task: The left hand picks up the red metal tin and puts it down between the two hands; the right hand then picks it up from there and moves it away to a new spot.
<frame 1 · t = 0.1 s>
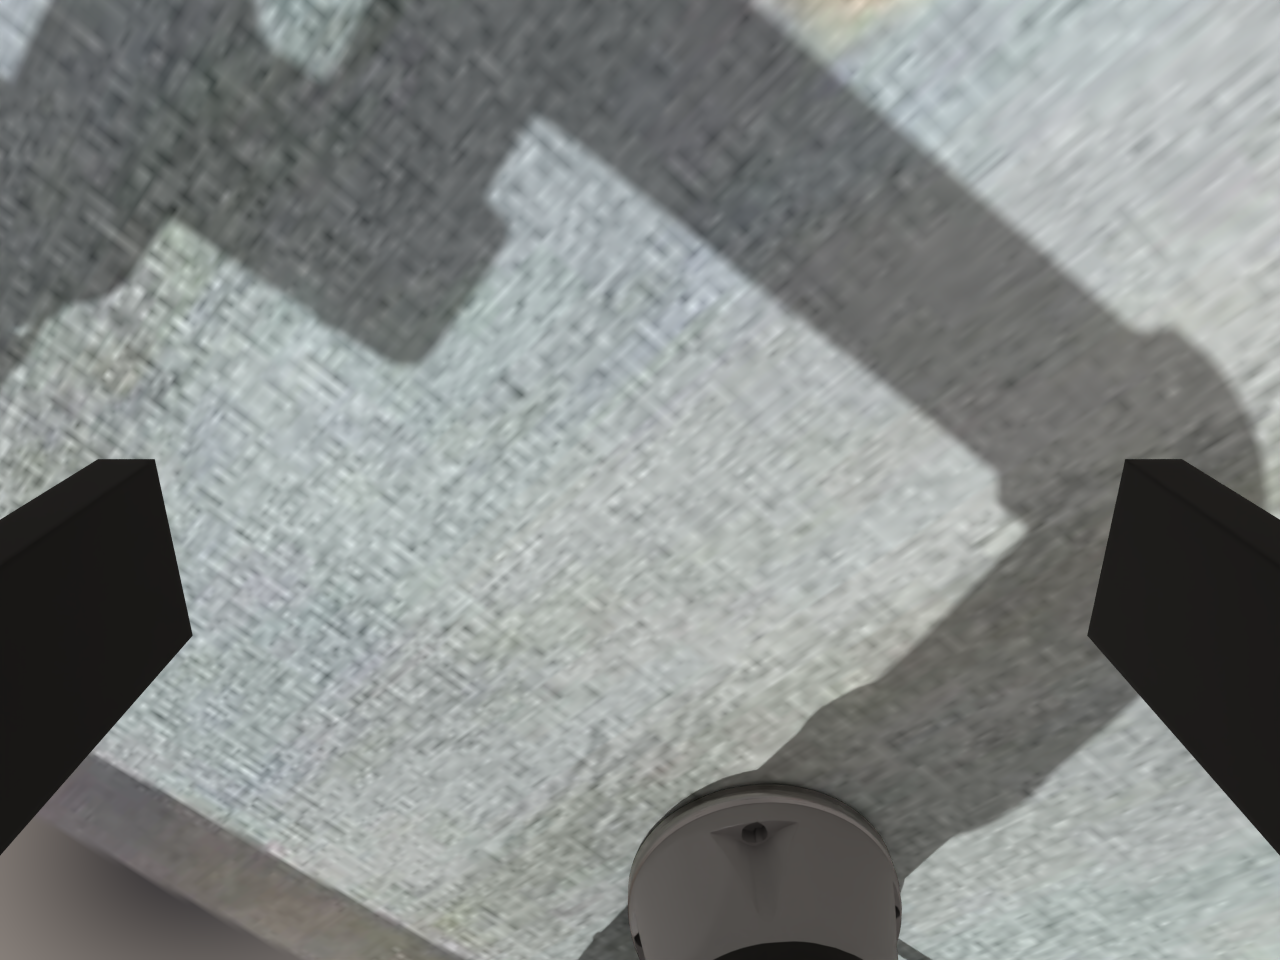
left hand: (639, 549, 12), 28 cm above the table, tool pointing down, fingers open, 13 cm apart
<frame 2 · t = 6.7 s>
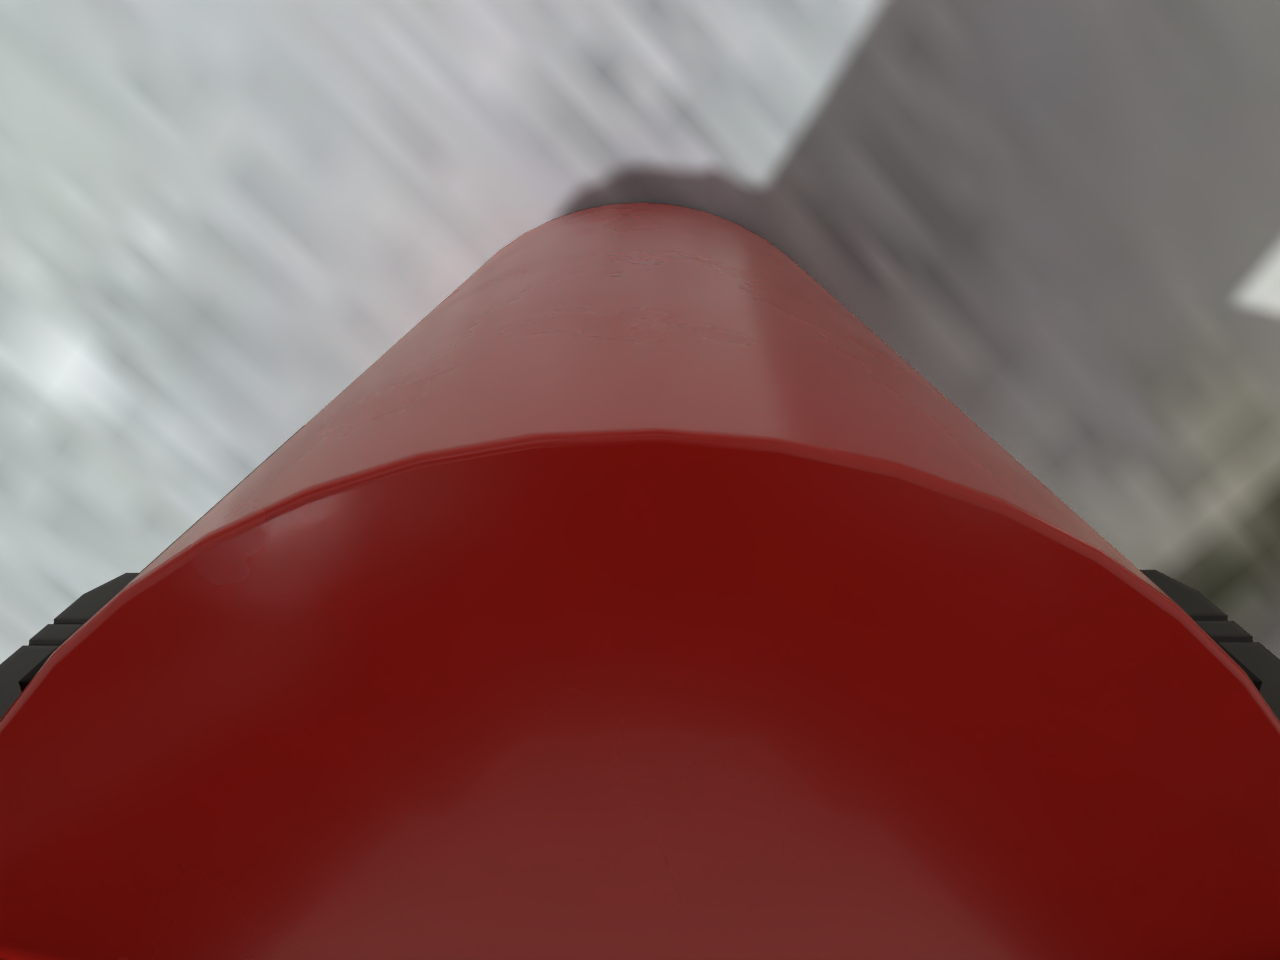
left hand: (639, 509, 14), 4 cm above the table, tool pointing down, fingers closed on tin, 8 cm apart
tin: (640, 431, 17), on the table, touching left hand
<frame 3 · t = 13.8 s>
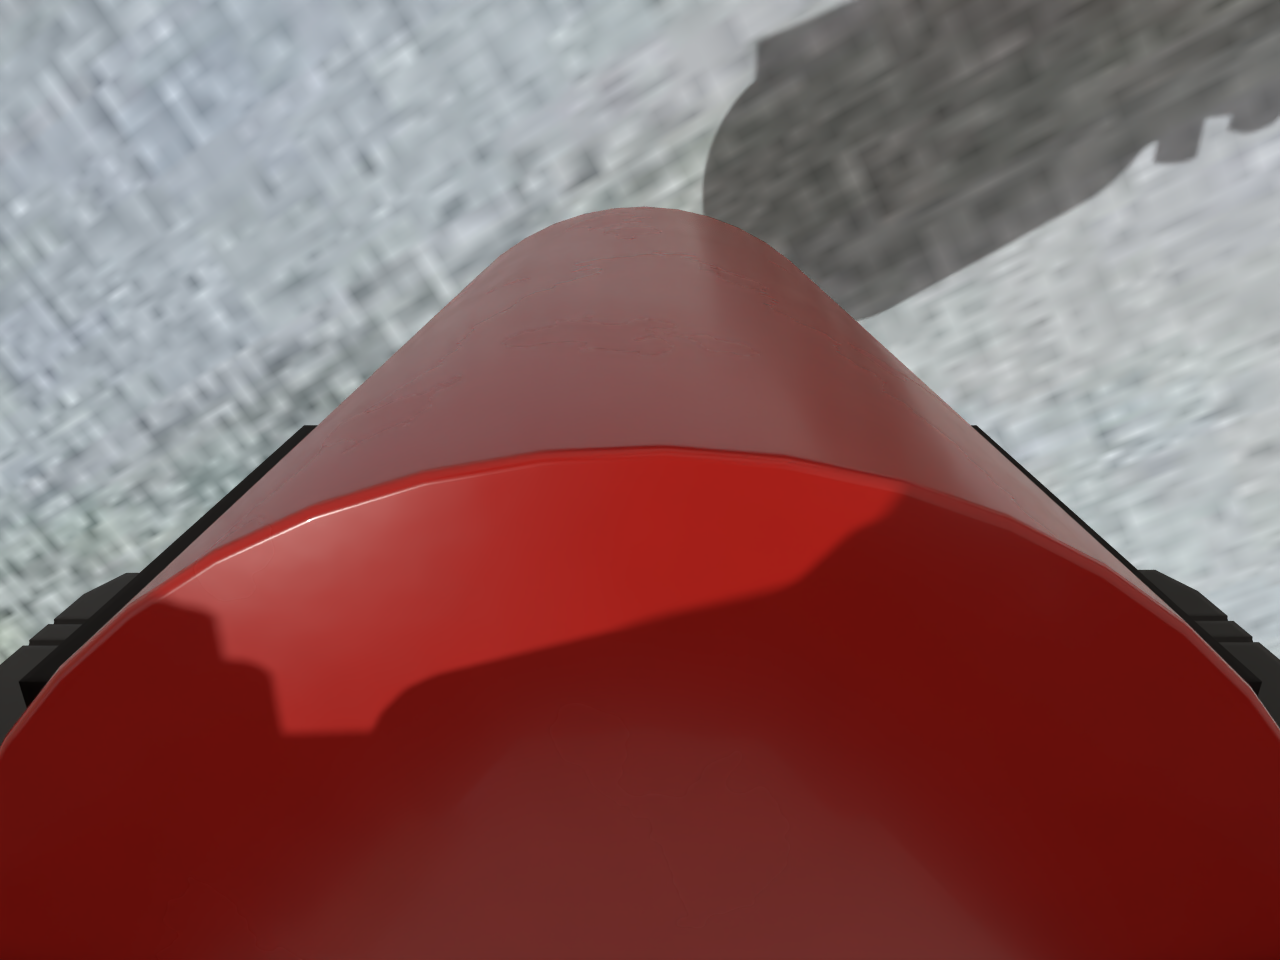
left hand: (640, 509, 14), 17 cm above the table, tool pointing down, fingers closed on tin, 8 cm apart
tin: (641, 435, 17), point 13 cm above the table, touching left hand
when the left hand's fingers open (5 cm above the table, at t = 21.1 s): tin drops 1 cm, on the table.
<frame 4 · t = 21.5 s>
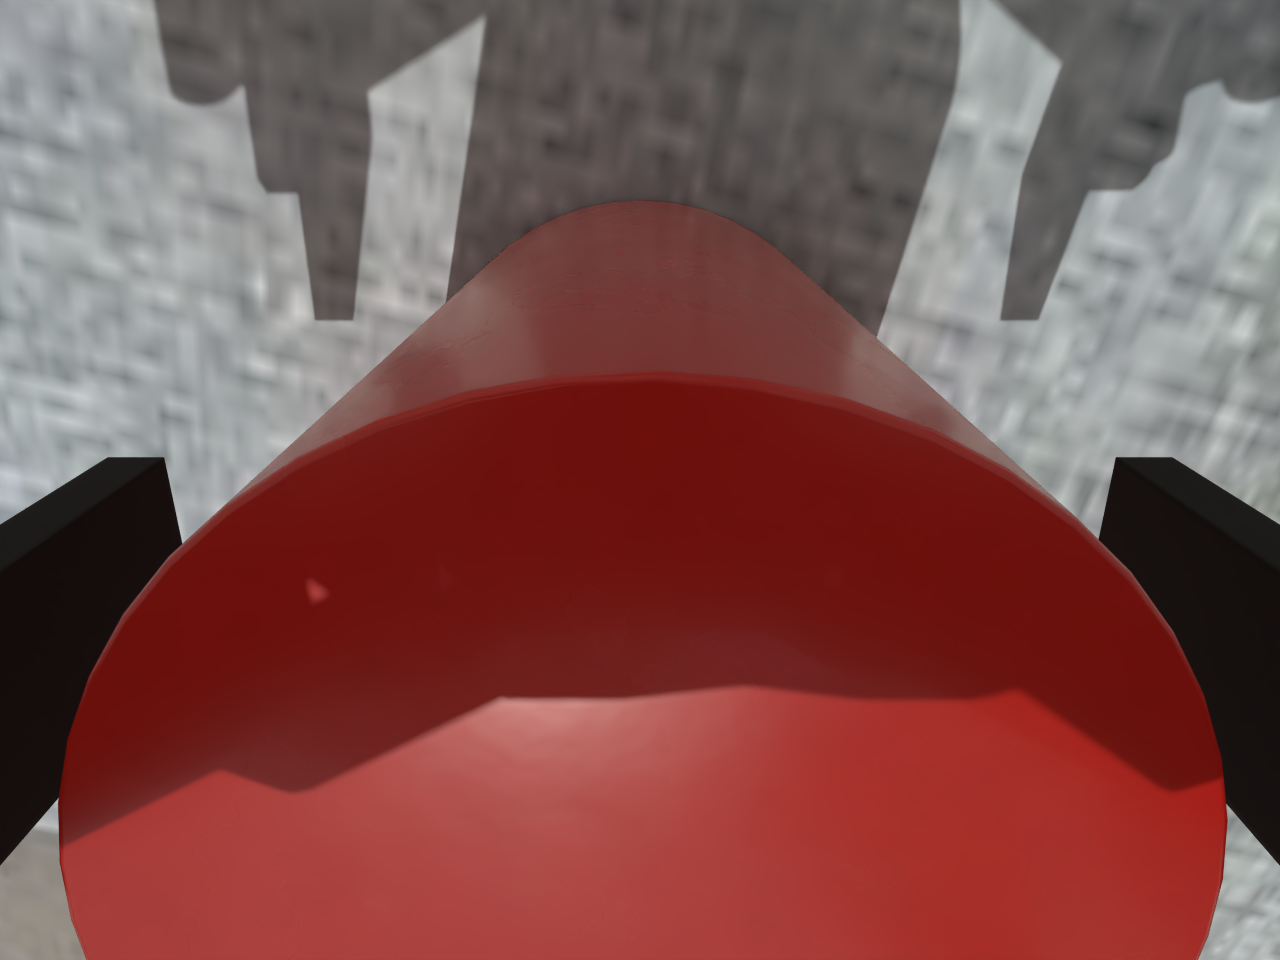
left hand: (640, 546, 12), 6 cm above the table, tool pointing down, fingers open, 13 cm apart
tin: (640, 415, 18), on the table
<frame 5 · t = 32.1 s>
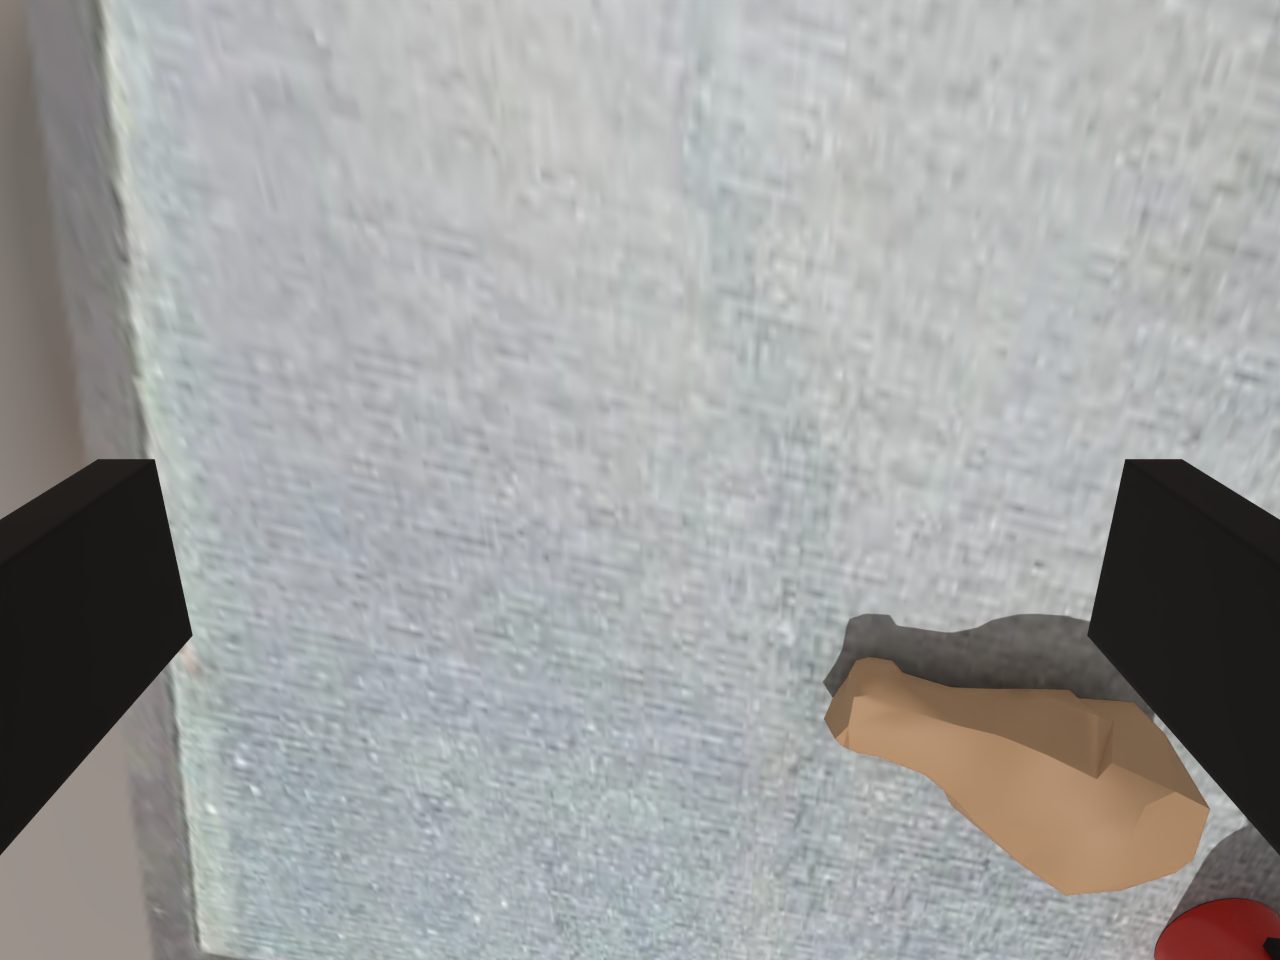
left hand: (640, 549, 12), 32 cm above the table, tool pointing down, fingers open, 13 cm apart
tin: (1219, 946, 59), on the table, touching right hand
squash: (981, 722, 52), on the table
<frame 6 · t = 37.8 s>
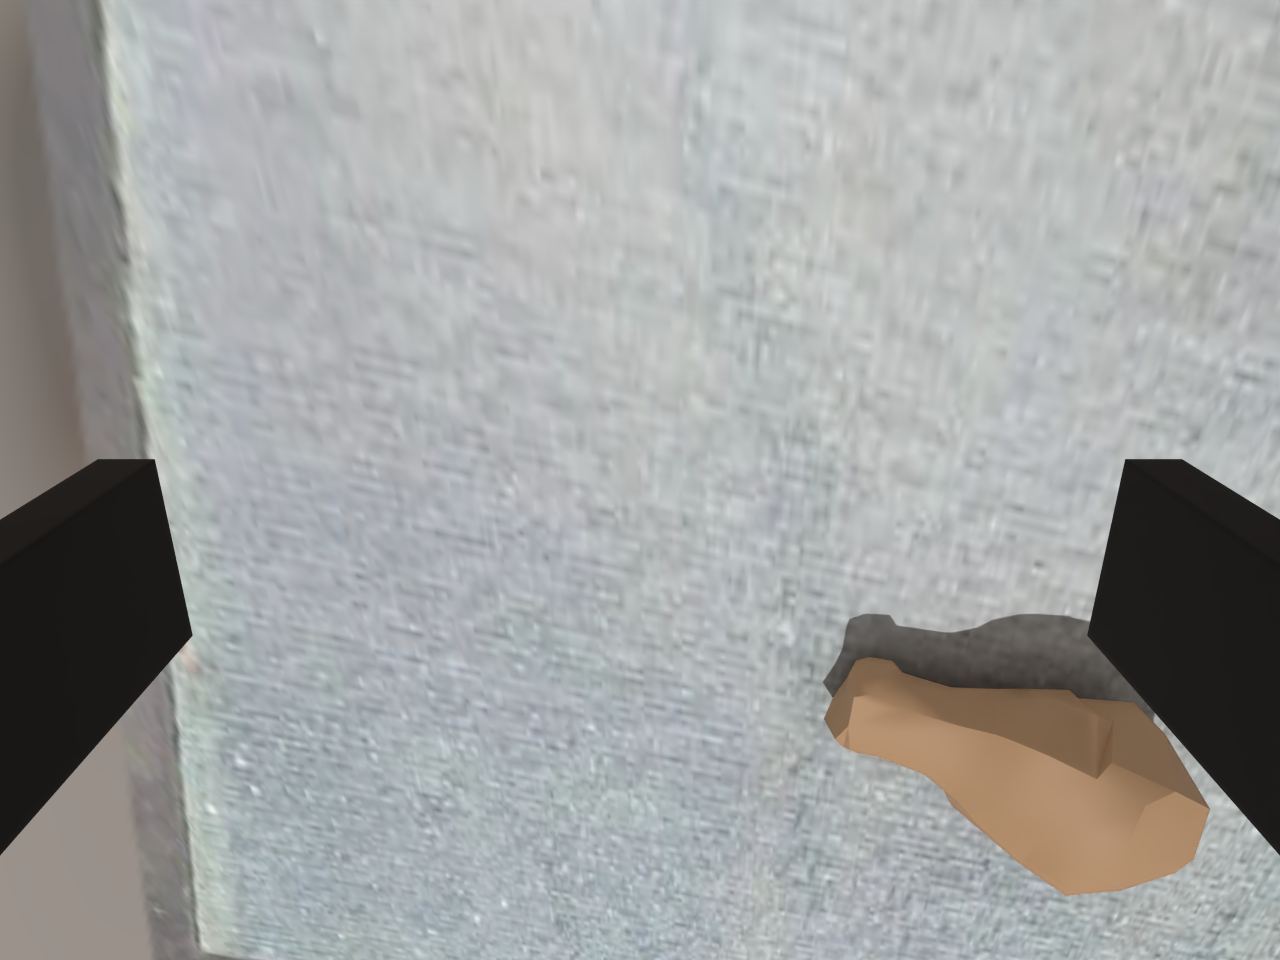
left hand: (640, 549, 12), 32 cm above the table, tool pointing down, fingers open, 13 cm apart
squash: (981, 722, 52), on the table
when the right hand's fingers open (5 cm above the table, at t = 43.9 s): tin drops 1 cm, on the table.
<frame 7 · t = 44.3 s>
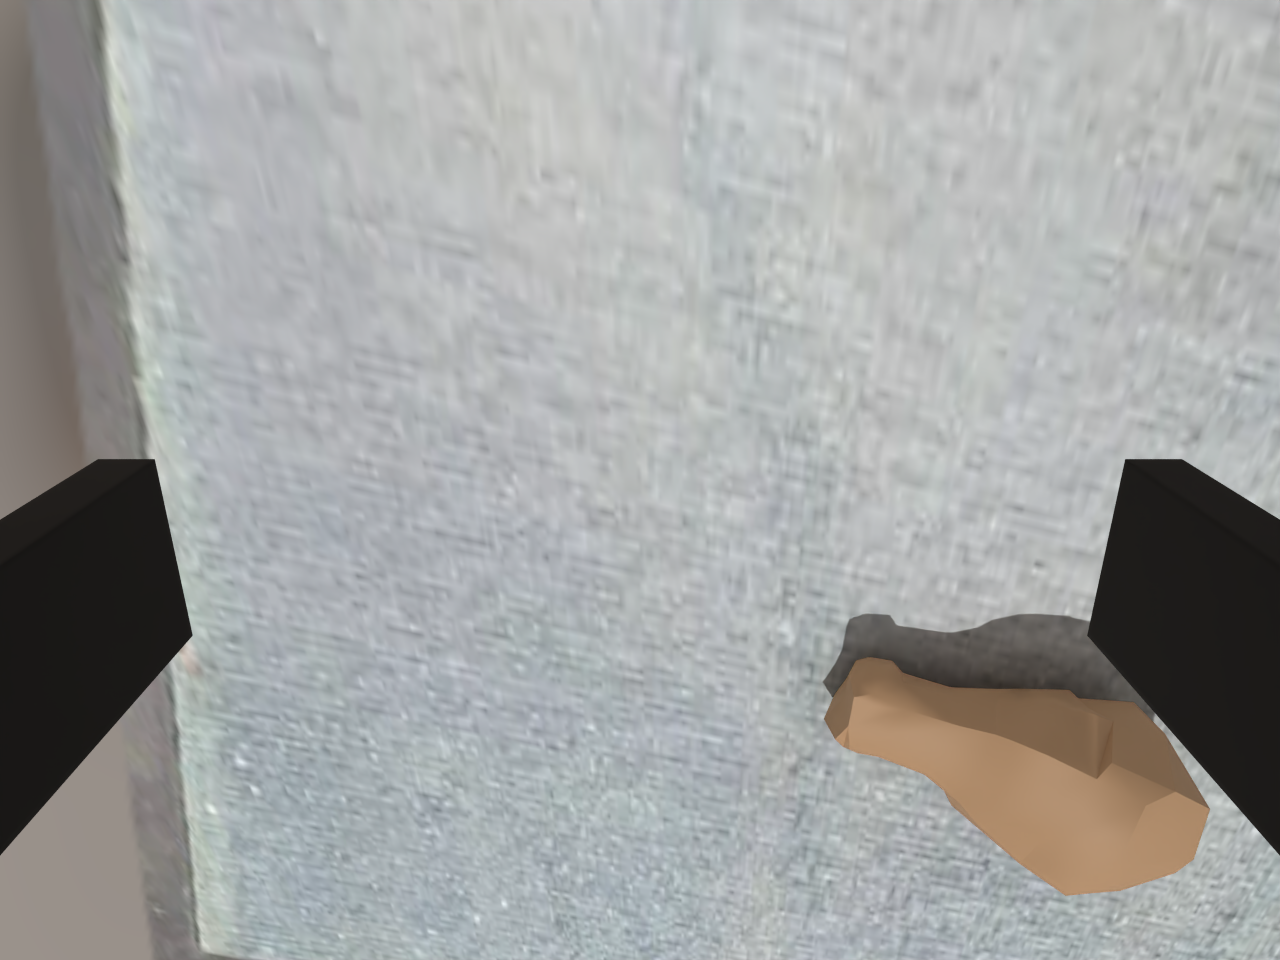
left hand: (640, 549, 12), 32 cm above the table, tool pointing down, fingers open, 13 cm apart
squash: (981, 722, 52), on the table
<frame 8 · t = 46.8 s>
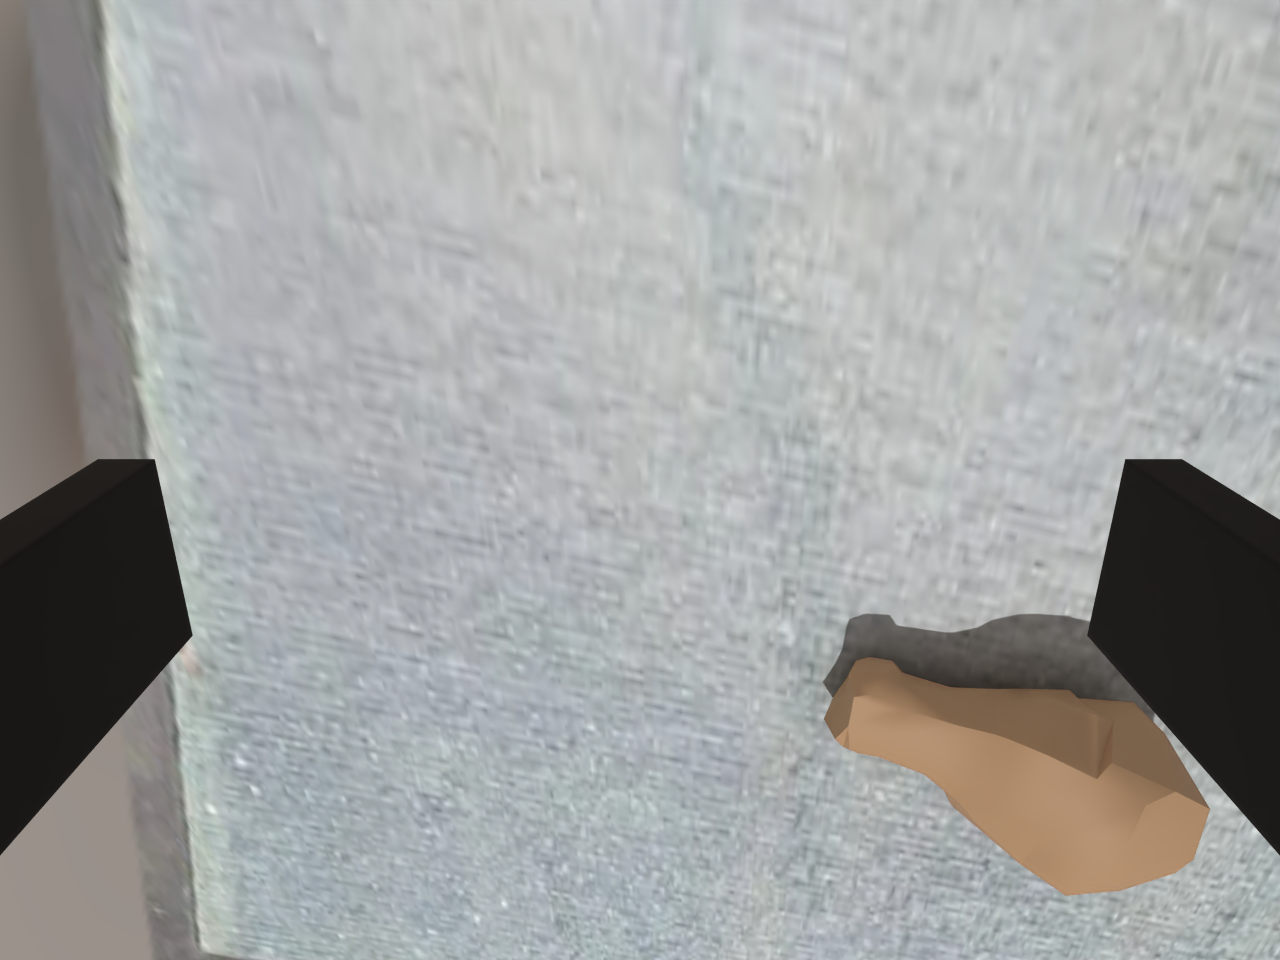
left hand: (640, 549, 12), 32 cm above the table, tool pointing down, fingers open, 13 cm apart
squash: (981, 722, 52), on the table
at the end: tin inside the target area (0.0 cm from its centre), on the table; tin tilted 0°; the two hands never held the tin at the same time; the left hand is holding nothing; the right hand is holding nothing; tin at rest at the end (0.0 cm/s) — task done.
